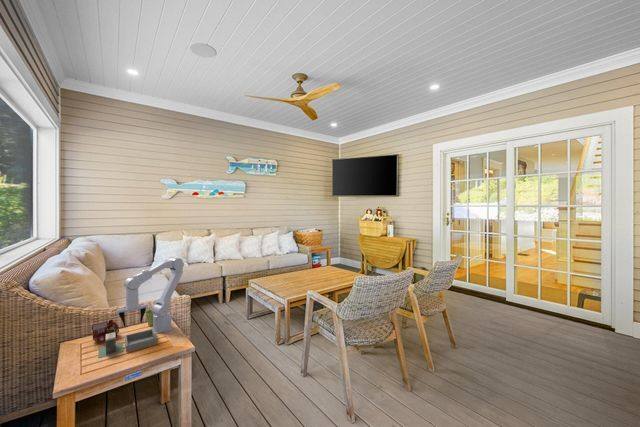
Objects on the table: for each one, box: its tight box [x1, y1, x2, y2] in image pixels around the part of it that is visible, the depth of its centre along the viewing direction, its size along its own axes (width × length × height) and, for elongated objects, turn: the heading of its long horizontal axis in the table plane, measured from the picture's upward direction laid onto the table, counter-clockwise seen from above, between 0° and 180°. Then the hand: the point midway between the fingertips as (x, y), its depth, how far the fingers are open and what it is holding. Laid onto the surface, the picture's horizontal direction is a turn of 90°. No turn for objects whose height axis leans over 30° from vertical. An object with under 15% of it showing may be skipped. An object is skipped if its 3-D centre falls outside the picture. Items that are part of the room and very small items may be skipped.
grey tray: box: [124, 328, 158, 353], centre depth 151 cm, size 14×23×4 cm, turn 38°
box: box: [105, 332, 117, 355], centre depth 143 cm, size 4×9×7 cm, turn 38°
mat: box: [97, 341, 124, 359], centre depth 143 cm, size 10×12×1 cm
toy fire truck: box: [90, 319, 120, 344], centre depth 155 cm, size 7×12×10 cm, turn 142°
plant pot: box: [144, 308, 153, 327], centre depth 175 cm, size 9×9×9 cm
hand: (132, 323), depth 154 cm, fingers open, 7 cm apart
